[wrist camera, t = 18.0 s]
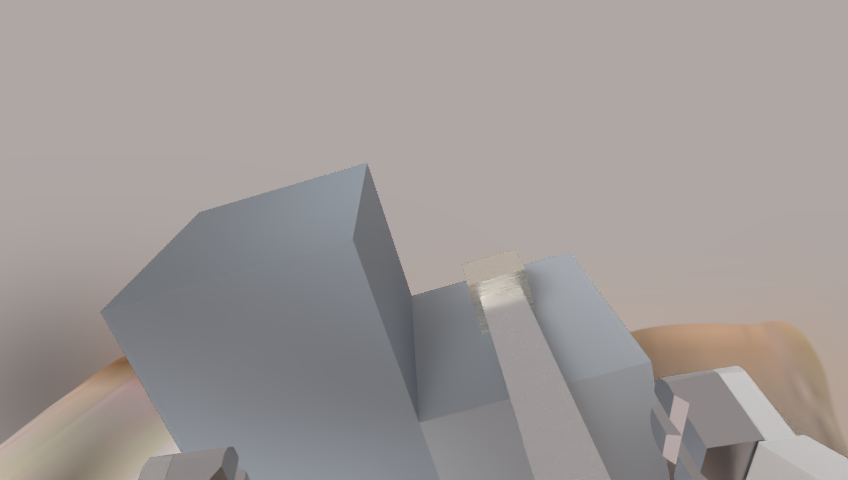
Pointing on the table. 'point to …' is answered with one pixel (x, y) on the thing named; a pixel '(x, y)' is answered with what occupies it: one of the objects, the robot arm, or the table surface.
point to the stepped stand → (360, 349)
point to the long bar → (531, 373)
